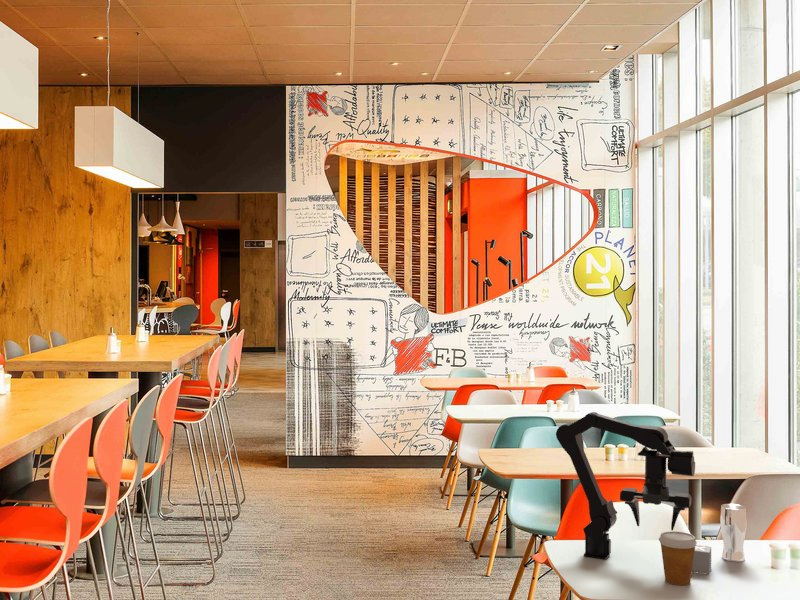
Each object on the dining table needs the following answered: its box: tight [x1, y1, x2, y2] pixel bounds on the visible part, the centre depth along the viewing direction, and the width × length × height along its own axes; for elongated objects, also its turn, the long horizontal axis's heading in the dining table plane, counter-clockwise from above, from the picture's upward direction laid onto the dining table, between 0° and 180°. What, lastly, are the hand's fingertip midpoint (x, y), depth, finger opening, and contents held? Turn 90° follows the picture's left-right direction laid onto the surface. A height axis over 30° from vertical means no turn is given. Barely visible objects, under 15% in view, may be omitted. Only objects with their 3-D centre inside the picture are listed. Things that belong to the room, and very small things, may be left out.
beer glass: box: [719, 503, 747, 563], centre depth 237 cm, size 7×7×15 cm
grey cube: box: [692, 544, 712, 575], centre depth 227 cm, size 6×6×6 cm
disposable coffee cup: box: [658, 530, 698, 586], centre depth 217 cm, size 10×10×12 cm
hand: (655, 528), depth 232 cm, fingers open, 9 cm apart
